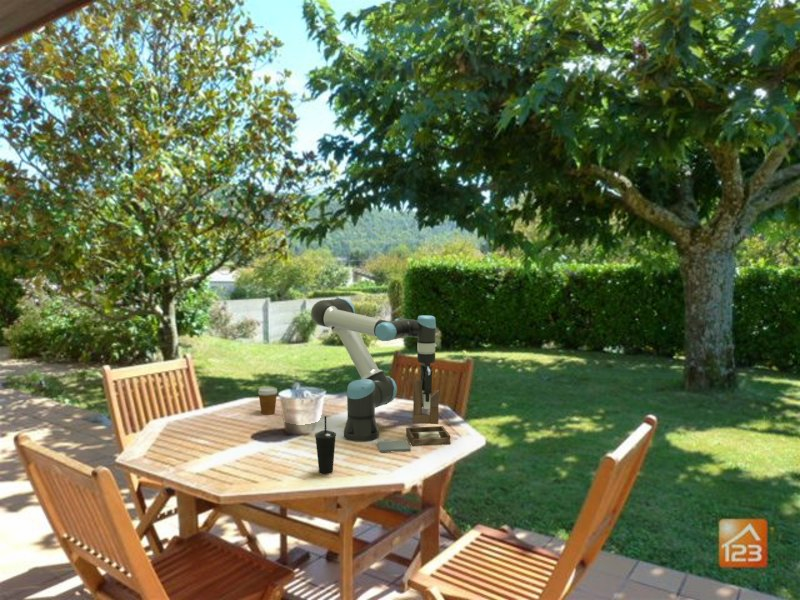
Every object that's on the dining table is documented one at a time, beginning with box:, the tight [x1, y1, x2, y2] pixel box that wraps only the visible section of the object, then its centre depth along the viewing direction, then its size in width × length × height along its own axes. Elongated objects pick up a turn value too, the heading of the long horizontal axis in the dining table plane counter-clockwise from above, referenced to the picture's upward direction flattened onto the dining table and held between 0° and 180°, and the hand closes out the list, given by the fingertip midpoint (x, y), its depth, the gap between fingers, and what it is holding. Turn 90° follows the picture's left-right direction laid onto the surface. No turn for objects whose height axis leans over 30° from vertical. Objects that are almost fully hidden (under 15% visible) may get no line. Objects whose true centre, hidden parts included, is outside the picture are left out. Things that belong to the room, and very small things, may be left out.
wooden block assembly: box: [412, 379, 440, 425], centre depth 246 cm, size 4×11×18 cm, turn 88°
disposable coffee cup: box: [257, 386, 278, 416], centre depth 286 cm, size 10×10×12 cm
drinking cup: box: [314, 415, 337, 475], centre depth 207 cm, size 8×8×20 cm
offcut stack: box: [418, 432, 441, 439], centre depth 240 cm, size 9×3×4 cm, turn 98°
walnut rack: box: [405, 425, 451, 447], centre depth 244 cm, size 16×14×4 cm
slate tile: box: [376, 439, 412, 453], centre depth 234 cm, size 12×11×1 cm
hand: (425, 407), depth 246 cm, fingers closed on wooden block assembly, 4 cm apart
